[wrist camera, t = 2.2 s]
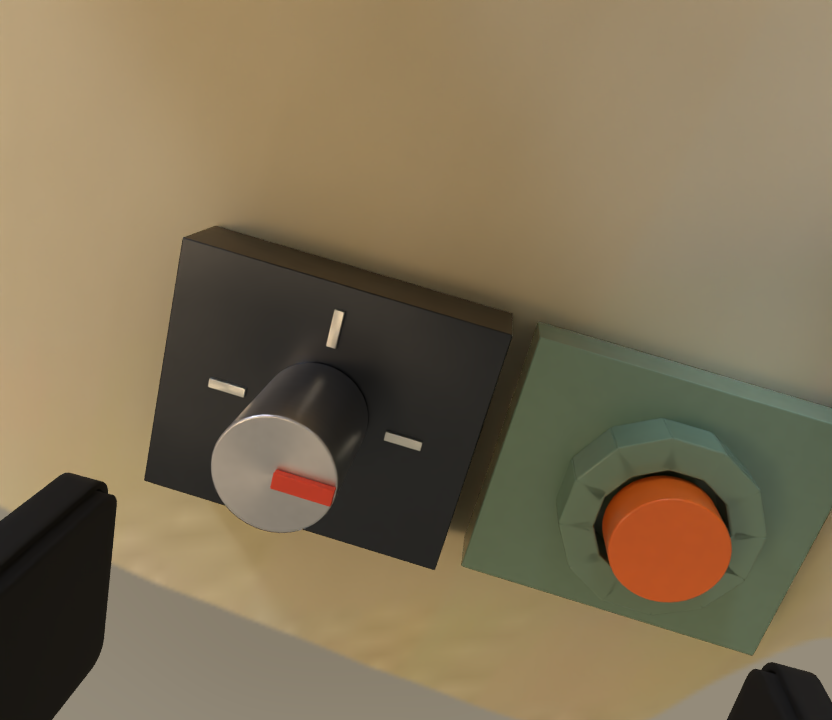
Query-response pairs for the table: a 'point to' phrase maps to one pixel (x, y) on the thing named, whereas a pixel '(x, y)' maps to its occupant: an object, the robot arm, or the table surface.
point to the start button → (665, 539)
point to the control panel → (343, 350)
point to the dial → (290, 448)
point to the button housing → (643, 457)
